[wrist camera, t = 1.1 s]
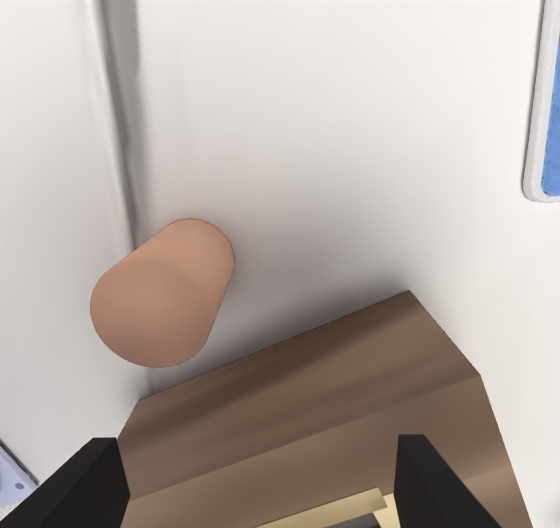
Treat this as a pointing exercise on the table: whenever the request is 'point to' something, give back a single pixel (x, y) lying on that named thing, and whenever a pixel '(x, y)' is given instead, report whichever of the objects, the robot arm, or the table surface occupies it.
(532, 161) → the tablet computer
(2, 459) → the robot arm
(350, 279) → the table surface
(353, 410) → the socket block
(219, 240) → the peg
